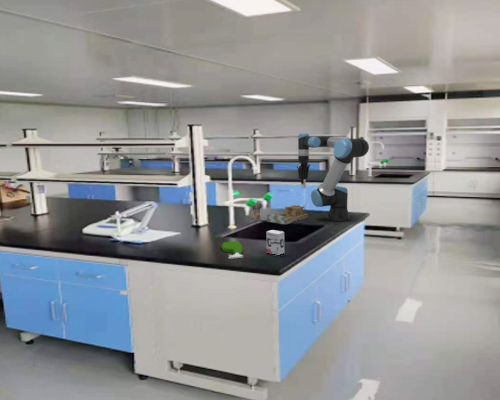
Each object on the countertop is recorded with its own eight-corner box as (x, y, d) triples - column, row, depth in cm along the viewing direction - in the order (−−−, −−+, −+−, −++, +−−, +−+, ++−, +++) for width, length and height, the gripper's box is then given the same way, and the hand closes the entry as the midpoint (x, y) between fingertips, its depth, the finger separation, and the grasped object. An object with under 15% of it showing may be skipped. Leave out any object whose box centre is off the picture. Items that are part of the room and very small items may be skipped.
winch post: (261, 220, 316) (261, 200, 314) (257, 221, 313) (257, 201, 311) (255, 219, 321) (254, 199, 318) (250, 220, 317) (250, 200, 315)
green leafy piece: (240, 246, 250) (247, 259, 226) (220, 247, 248) (225, 261, 224) (240, 241, 249) (247, 253, 225) (220, 242, 247) (225, 255, 224)
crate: (303, 218, 322) (303, 206, 321) (295, 220, 316) (295, 208, 314) (292, 216, 329) (292, 205, 327) (284, 218, 322) (284, 207, 320)
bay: (307, 218, 321) (307, 211, 320) (285, 224, 302) (285, 217, 301) (289, 215, 331) (289, 208, 330) (266, 221, 312) (266, 214, 311)
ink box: (265, 253, 233) (265, 231, 232) (272, 251, 237) (271, 229, 235) (278, 256, 228) (278, 233, 226) (285, 254, 231) (284, 231, 229)
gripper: (304, 154, 330) (304, 186, 334) (293, 155, 321) (293, 188, 325) (313, 155, 325) (312, 187, 329) (302, 156, 316) (302, 189, 320)
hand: (303, 188), depth 327 cm, fingers closed
